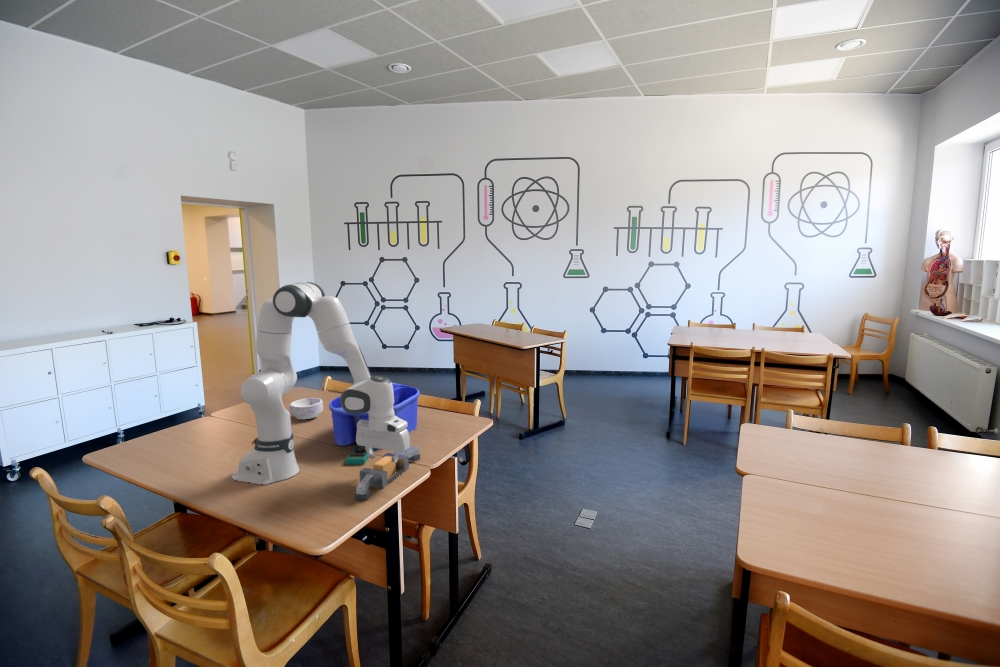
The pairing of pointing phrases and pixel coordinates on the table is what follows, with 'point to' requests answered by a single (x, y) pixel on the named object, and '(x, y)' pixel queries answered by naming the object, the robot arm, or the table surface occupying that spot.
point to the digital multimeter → (358, 456)
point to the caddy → (347, 422)
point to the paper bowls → (306, 408)
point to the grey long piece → (384, 473)
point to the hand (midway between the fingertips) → (383, 459)
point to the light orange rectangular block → (386, 465)
